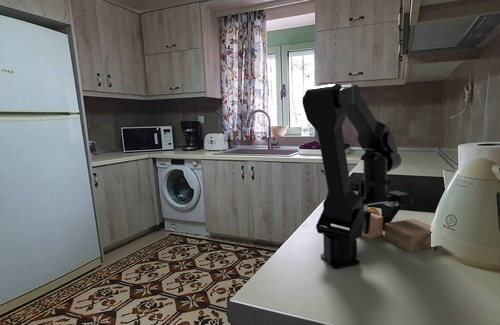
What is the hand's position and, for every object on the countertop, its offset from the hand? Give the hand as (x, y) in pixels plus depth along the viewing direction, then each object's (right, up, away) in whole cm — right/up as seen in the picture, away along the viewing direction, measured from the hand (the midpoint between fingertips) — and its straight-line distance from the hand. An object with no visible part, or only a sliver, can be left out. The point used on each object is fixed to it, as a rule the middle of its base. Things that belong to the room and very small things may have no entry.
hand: (374, 232), depth 79 cm
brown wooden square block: (+7, -1, -5) cm, 9 cm away
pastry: (+2, 0, +12) cm, 13 cm away
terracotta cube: (-1, -1, +2) cm, 2 cm away
